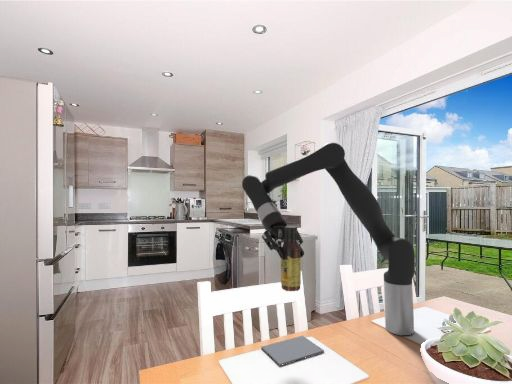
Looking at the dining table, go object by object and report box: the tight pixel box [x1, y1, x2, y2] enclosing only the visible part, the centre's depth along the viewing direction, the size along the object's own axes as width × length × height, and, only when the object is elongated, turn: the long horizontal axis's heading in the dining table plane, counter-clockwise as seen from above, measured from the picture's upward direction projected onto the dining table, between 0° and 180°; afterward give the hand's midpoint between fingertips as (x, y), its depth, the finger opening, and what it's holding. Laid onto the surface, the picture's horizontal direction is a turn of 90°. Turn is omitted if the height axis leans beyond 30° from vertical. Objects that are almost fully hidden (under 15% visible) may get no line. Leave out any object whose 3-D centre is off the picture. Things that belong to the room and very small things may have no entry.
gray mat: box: [261, 335, 325, 366], centre depth 86 cm, size 16×11×1 cm
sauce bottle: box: [280, 225, 302, 292], centre depth 88 cm, size 6×6×20 cm
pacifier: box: [441, 313, 457, 334], centre depth 98 cm, size 7×6×6 cm
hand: (294, 257), depth 86 cm, fingers closed on sauce bottle, 6 cm apart
